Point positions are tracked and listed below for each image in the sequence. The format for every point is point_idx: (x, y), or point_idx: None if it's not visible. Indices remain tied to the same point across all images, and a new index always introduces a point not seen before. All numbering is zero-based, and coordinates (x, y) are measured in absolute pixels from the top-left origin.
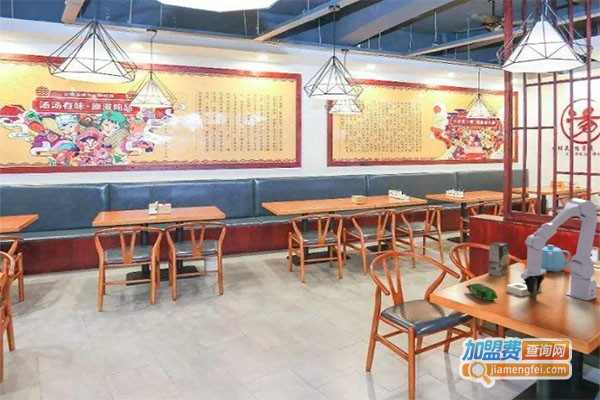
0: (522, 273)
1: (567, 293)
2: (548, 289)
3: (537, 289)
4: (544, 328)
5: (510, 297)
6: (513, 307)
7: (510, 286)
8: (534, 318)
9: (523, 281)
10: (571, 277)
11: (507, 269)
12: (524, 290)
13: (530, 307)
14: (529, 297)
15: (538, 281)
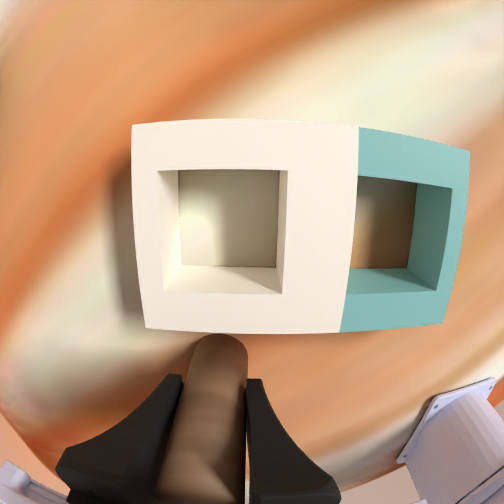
0: (3, 502)
1: (441, 400)
2: (474, 293)
3: (246, 422)
4: (42, 461)
5: (74, 260)
6: (17, 359)
7: (132, 177)
8: (45, 439)
9: (432, 146)
10: (481, 476)
11: None
12: (186, 325)
13: (84, 409)
14: (195, 346)
15: (249, 490)
